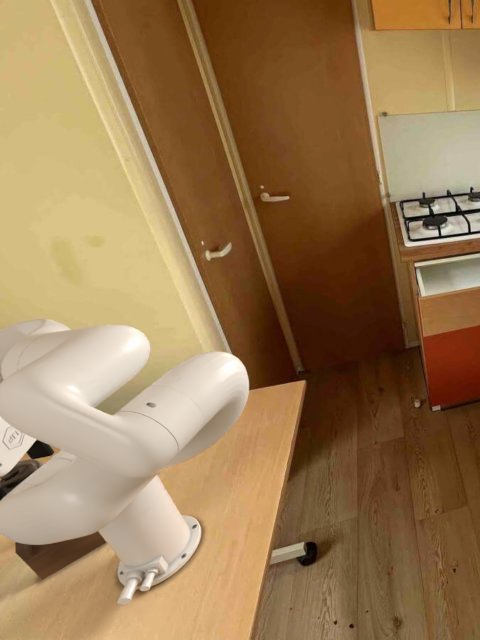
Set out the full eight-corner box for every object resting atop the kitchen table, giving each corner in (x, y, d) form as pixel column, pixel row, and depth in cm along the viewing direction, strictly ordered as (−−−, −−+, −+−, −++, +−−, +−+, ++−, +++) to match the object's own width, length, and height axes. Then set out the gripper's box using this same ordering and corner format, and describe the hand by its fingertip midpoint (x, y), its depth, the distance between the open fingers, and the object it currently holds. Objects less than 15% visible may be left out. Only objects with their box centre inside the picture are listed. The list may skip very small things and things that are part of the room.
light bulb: (32, 522, 79) (-14, 471, 72) (70, 498, 83) (31, 447, 76) (42, 539, 76) (-5, 487, 69) (81, 514, 80) (41, 462, 73)
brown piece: (99, 500, 89) (79, 472, 85) (107, 541, 82) (85, 514, 78) (39, 532, 83) (15, 504, 79) (42, 580, 76) (15, 552, 72)
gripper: (-49, 450, 60) (16, 521, 68) (34, 369, 75) (80, 435, 83) (-119, 464, 58) (-44, 535, 66) (-20, 377, 73) (32, 444, 81)
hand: (25, 479), depth 74 cm, fingers open, 9 cm apart
